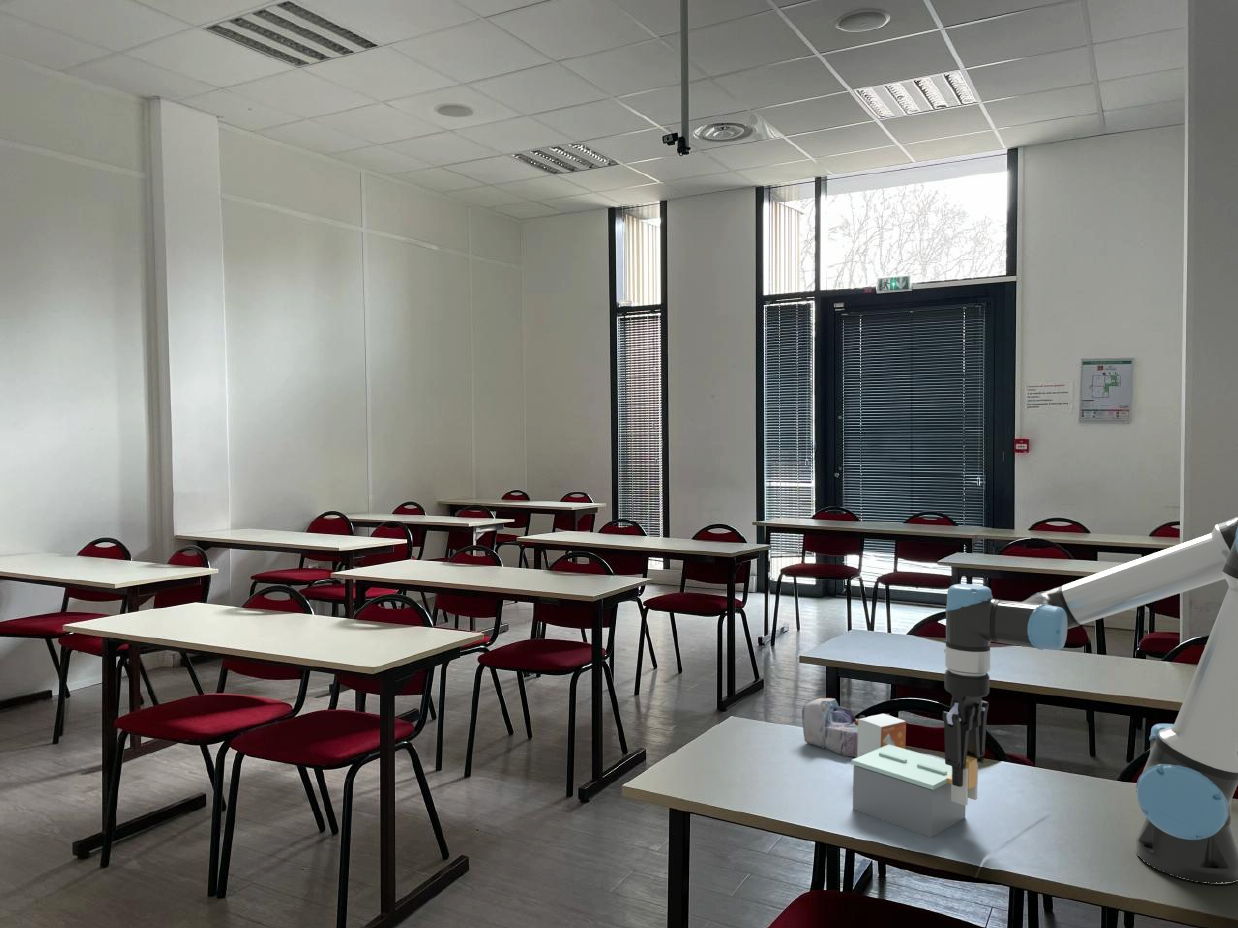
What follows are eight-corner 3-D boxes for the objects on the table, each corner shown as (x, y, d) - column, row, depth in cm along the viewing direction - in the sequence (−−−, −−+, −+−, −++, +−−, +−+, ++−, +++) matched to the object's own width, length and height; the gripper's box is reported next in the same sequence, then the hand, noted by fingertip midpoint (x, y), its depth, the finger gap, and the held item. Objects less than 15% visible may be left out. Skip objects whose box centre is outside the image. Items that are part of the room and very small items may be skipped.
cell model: (814, 689, 212) (897, 704, 202) (813, 732, 213) (895, 750, 202) (796, 701, 201) (882, 718, 191) (794, 747, 202) (880, 767, 191)
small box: (879, 789, 177) (881, 726, 177) (855, 779, 182) (857, 718, 182) (905, 781, 182) (906, 720, 181) (881, 772, 187) (882, 712, 187)
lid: (989, 777, 160) (990, 751, 160) (954, 796, 150) (955, 769, 150) (888, 748, 175) (889, 724, 175) (851, 763, 166) (851, 739, 166)
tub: (965, 820, 163) (966, 773, 163) (931, 840, 154) (932, 790, 154) (888, 794, 175) (889, 750, 174) (852, 812, 166) (853, 765, 166)
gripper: (967, 659, 164) (964, 782, 164) (925, 673, 153) (922, 805, 153) (1007, 667, 158) (1004, 794, 159) (966, 682, 148) (963, 818, 148)
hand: (964, 799), depth 156 cm, fingers closed on lid, 3 cm apart
